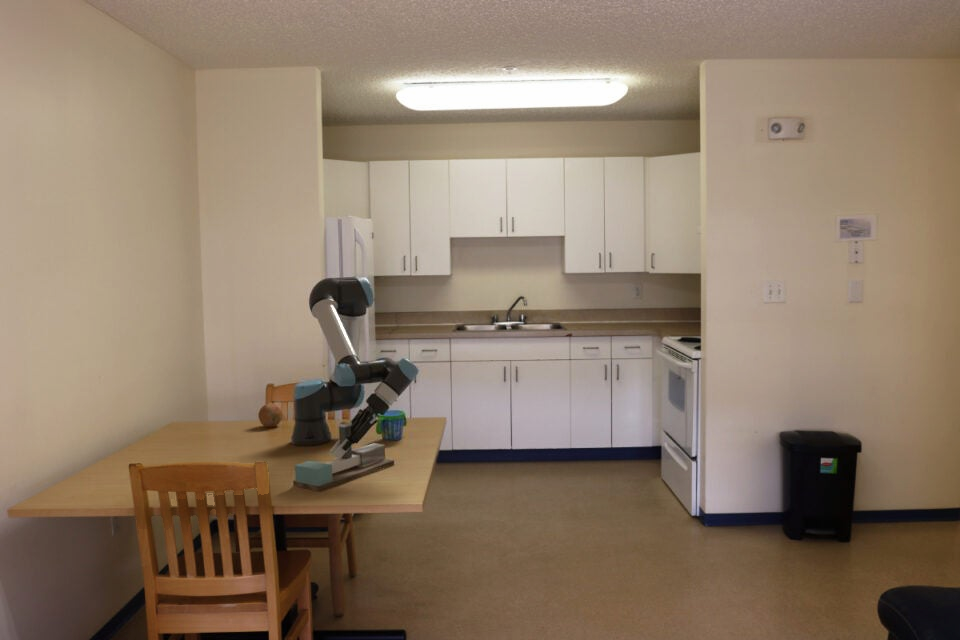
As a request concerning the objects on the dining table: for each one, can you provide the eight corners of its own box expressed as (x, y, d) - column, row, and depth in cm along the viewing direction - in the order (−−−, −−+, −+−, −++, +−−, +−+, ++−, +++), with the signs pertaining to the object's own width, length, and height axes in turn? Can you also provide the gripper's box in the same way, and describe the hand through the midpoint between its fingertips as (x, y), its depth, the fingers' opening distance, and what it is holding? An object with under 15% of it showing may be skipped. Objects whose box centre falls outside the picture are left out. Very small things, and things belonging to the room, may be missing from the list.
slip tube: (324, 472, 246) (322, 427, 244) (372, 456, 264) (370, 414, 262) (332, 473, 244) (329, 428, 242) (379, 457, 262) (377, 415, 260)
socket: (295, 481, 240) (294, 465, 240) (310, 476, 245) (309, 460, 245) (318, 486, 234) (317, 469, 234) (332, 481, 239) (331, 464, 239)
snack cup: (386, 445, 289) (385, 418, 288) (367, 441, 295) (366, 414, 295) (416, 436, 301) (415, 410, 300) (397, 433, 307) (396, 407, 306)
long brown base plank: (293, 485, 241) (292, 465, 240) (367, 460, 268) (367, 441, 268) (320, 491, 234) (319, 470, 233) (394, 464, 261) (393, 445, 261)
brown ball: (276, 423, 333) (274, 400, 332) (287, 426, 325) (286, 402, 324) (255, 427, 326) (253, 403, 325) (266, 430, 319) (264, 406, 318)
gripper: (398, 411, 249) (349, 469, 243) (381, 402, 264) (335, 456, 258) (381, 396, 246) (332, 454, 240) (366, 388, 261) (319, 443, 255)
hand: (334, 455), depth 249 cm, fingers closed on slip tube, 4 cm apart
